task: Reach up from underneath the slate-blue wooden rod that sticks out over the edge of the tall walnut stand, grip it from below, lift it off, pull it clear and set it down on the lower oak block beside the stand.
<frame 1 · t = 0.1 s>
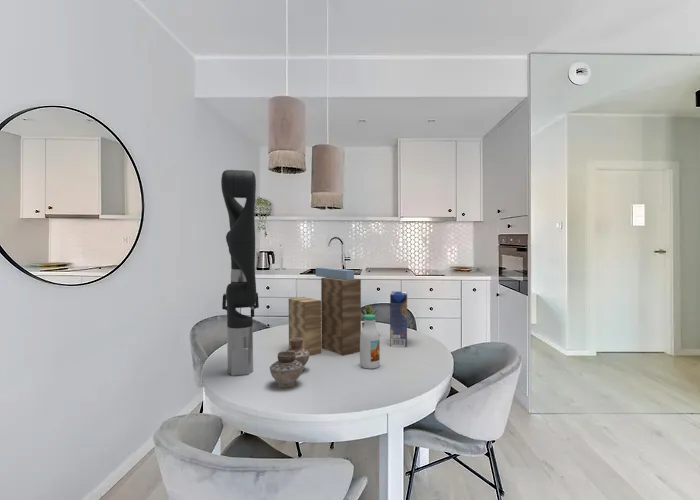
hand: (240, 318, 159), 17 cm above the table, tool pointing down, fingers open, 8 cm apart
house plant: (366, 335, 202), on the table
lower block: (304, 351, 173), on the table
tall stand: (340, 349, 176), on the table
juice carton: (398, 343, 185), on the table
pottery: (291, 378, 140), on the table
rod: (334, 277, 178), point 32 cm above the table, touching tall stand
milk bottle: (369, 366, 153), on the table
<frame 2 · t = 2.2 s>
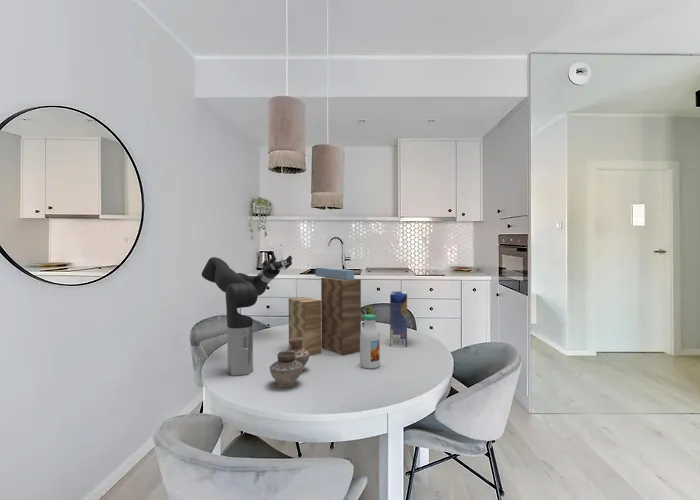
hand: (283, 257, 186), 41 cm above the table, tool pointing upward, fingers open, 8 cm apart
nothing on the table moved.
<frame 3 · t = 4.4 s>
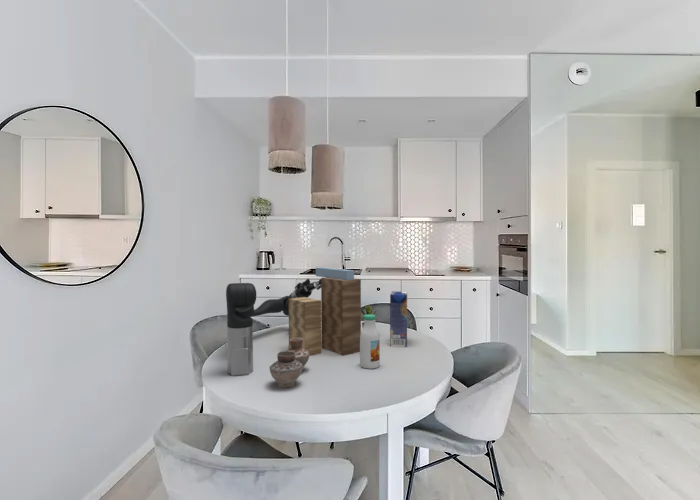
hand: (316, 279, 190), 30 cm above the table, tool pointing upward, fingers open, 8 cm apart
nothing on the table moved.
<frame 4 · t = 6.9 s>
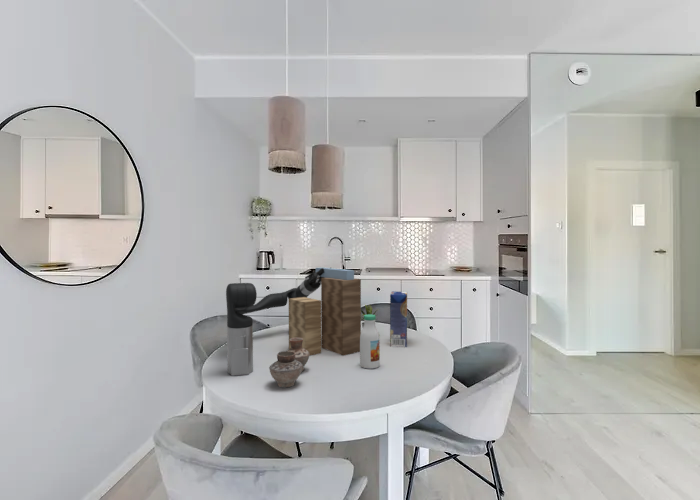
hand: (327, 269, 182), 35 cm above the table, tool pointing upward, fingers closed on rod, 4 cm apart
rod: (334, 277, 178), point 32 cm above the table, touching gripper, tall stand
everything else where it was.
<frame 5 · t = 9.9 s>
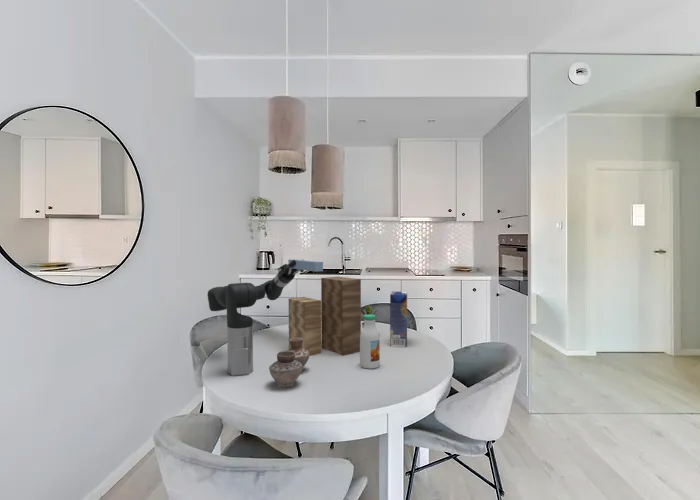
hand: (299, 261, 183), 39 cm above the table, tool pointing upward, fingers closed on rod, 4 cm apart
rod: (304, 269, 179), point 36 cm above the table, touching gripper
everything else where it was.
when the fingers open (28 cm above the table, at t = 12.9 s): rod drops 2 cm, resting on lower block.
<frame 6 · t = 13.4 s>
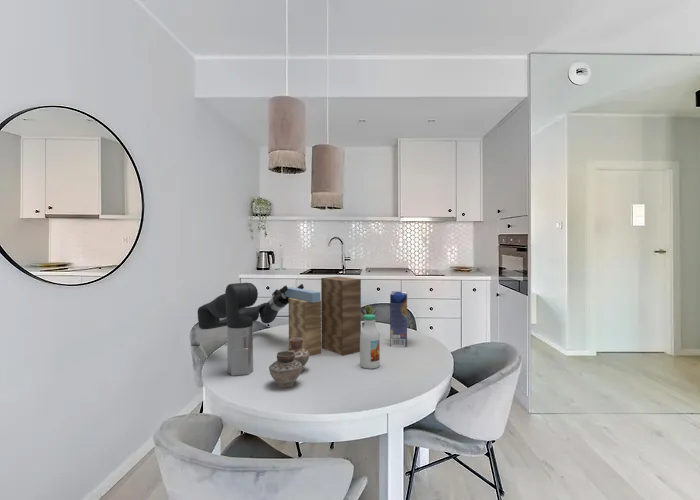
hand: (294, 286, 179), 28 cm above the table, tool pointing upward, fingers open, 8 cm apart
rod: (301, 298, 174), point 23 cm above the table, touching lower block
everything else where it was.
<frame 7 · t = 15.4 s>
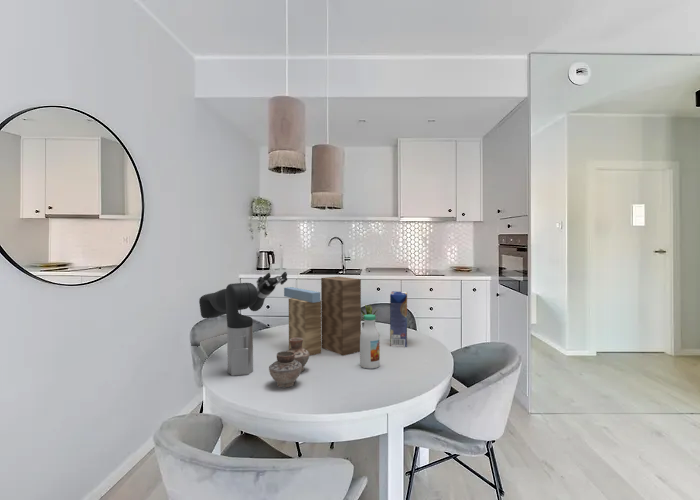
hand: (277, 274, 186), 33 cm above the table, tool pointing upward, fingers open, 8 cm apart
nothing on the table moved.
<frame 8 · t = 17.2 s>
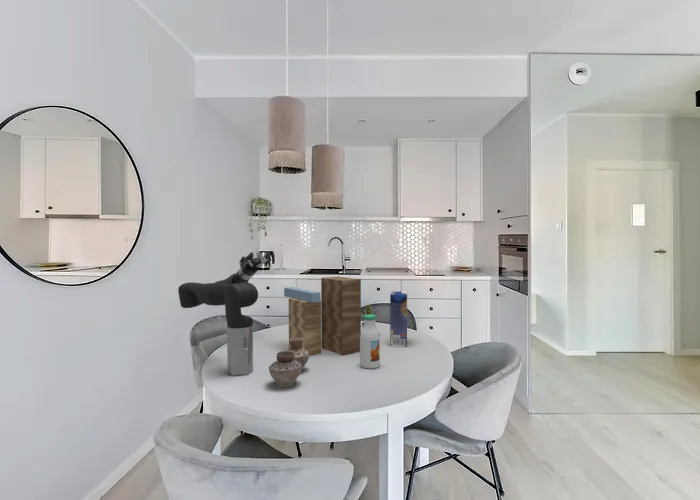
hand: (261, 253, 181), 43 cm above the table, tool pointing upward, fingers open, 8 cm apart
nothing on the table moved.
at the end: rod inside the target area on the lower block (1.5 cm from its centre), point 23.0 cm above the lower block's base; the gripper is holding nothing; rod moved 17.6 cm from its start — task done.
